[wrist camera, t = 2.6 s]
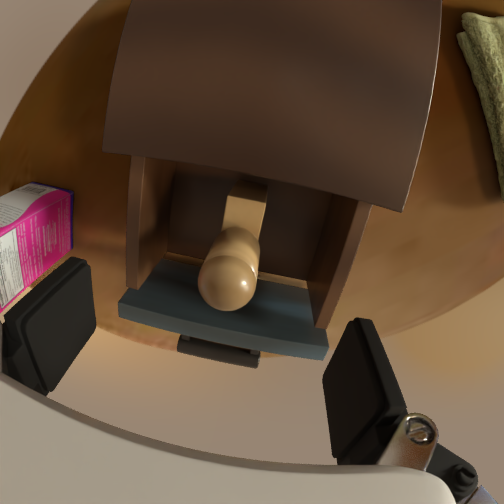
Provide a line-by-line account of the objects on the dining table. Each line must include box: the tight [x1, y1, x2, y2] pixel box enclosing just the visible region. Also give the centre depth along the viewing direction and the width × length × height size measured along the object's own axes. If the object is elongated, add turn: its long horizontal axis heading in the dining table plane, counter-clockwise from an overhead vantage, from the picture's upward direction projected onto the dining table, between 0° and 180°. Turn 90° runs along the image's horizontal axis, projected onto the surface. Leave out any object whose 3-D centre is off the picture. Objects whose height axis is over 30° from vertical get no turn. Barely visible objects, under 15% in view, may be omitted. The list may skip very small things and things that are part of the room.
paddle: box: [198, 180, 268, 311], centre depth 15 cm, size 5×2×10 cm, turn 169°
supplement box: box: [0, 182, 74, 313], centre depth 18 cm, size 6×6×12 cm
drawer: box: [118, 155, 373, 368], centre depth 19 cm, size 15×13×7 cm
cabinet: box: [102, 0, 442, 213], centre depth 14 cm, size 12×14×8 cm
